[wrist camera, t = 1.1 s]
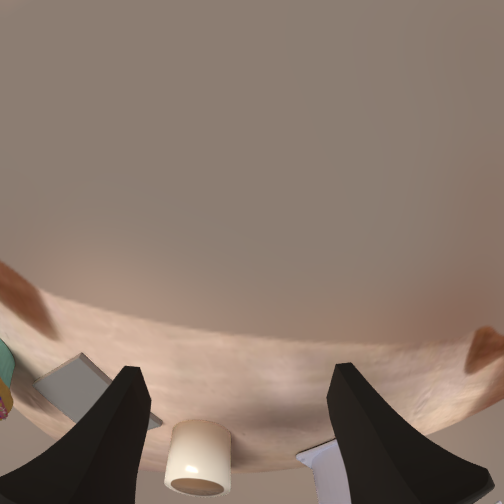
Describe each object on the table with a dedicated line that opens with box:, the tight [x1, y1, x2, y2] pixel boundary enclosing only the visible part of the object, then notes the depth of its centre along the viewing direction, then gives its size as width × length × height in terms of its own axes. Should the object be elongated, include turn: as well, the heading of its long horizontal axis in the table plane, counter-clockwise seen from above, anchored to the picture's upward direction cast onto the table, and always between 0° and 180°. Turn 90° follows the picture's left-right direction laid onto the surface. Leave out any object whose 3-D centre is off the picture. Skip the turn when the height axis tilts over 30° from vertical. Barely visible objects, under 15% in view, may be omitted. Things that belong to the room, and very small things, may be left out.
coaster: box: [32, 353, 162, 430], centre depth 21 cm, size 9×9×1 cm
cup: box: [164, 420, 231, 497], centre depth 20 cm, size 5×5×6 cm
